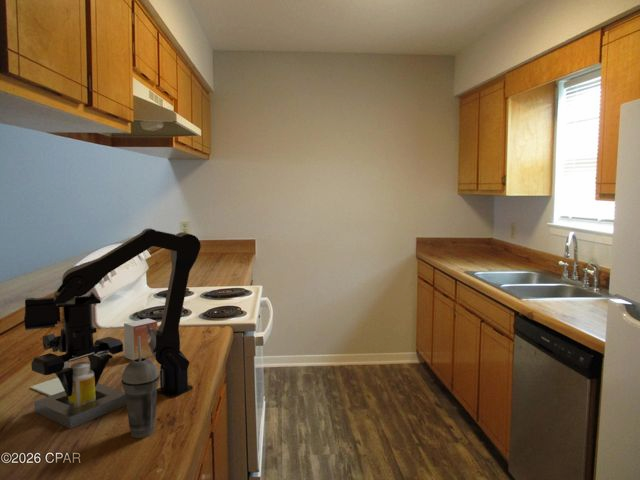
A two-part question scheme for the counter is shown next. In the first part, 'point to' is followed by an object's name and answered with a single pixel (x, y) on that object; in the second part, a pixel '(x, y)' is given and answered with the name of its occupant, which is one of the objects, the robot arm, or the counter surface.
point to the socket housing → (71, 417)
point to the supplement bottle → (82, 385)
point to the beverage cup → (141, 394)
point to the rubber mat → (49, 387)
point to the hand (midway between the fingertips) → (81, 391)
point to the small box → (131, 338)
